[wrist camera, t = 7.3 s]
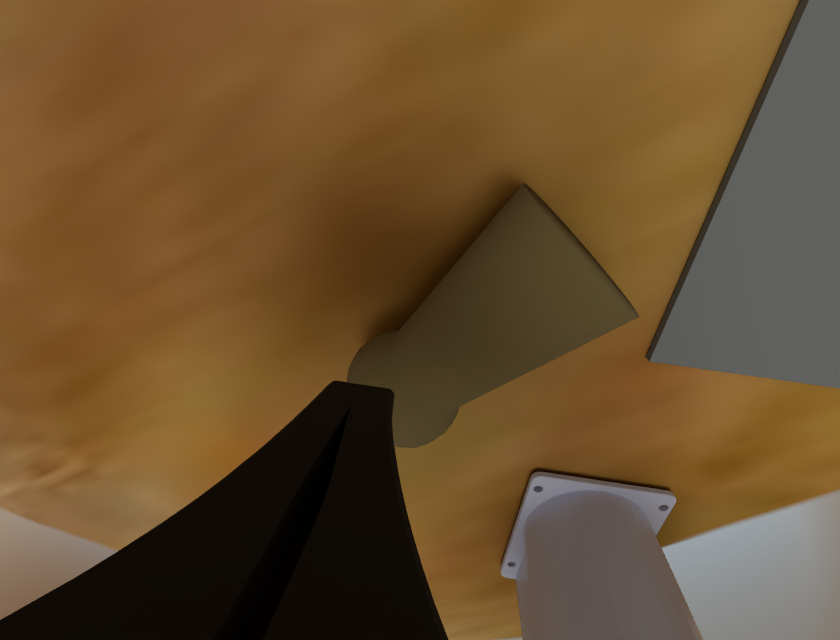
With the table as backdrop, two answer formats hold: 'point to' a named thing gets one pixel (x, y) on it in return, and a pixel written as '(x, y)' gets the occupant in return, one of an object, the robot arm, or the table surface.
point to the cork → (492, 319)
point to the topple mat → (772, 229)
